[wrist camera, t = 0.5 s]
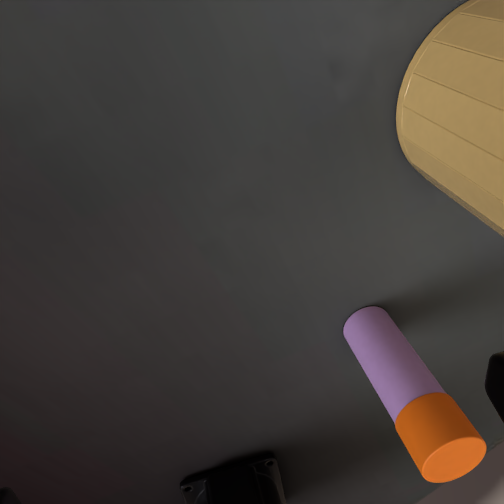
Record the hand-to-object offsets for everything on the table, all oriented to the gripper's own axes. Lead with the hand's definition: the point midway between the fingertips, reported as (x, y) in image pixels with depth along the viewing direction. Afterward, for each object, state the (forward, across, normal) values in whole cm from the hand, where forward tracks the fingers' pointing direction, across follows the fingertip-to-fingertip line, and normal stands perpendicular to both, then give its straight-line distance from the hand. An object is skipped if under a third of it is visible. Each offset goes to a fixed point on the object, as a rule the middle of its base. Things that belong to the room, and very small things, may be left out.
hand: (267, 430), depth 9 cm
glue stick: (+14, -8, +12) cm, 20 cm away
